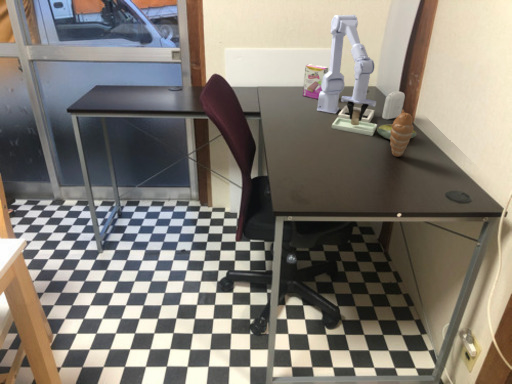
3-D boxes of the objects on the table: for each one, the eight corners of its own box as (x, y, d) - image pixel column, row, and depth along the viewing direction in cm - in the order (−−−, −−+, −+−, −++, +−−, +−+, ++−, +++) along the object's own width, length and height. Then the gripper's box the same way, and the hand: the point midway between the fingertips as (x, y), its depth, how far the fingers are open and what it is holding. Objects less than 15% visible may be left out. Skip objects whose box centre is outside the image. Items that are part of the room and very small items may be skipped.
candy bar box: (302, 96, 219) (305, 65, 211) (306, 94, 223) (309, 63, 214) (321, 100, 214) (324, 68, 206) (325, 98, 218) (329, 66, 209)
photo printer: (394, 114, 200) (400, 89, 194) (401, 116, 197) (407, 91, 191) (380, 117, 195) (385, 92, 189) (387, 120, 192) (392, 94, 186)
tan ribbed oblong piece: (382, 151, 162) (391, 107, 153) (401, 151, 162) (412, 107, 153) (390, 161, 154) (400, 115, 145) (410, 161, 155) (421, 116, 146)
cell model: (376, 125, 180) (412, 117, 174) (380, 142, 181) (416, 134, 176) (376, 129, 170) (414, 120, 164) (380, 147, 171) (417, 139, 166)
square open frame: (337, 120, 190) (338, 114, 188) (344, 111, 201) (345, 105, 199) (367, 125, 185) (368, 119, 183) (373, 116, 196) (374, 110, 195)
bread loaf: (349, 124, 180) (351, 111, 177) (351, 121, 183) (353, 108, 180) (357, 125, 179) (360, 112, 176) (359, 123, 182) (361, 110, 179)
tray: (331, 128, 181) (331, 124, 180) (336, 121, 189) (337, 117, 188) (372, 135, 175) (373, 132, 174) (376, 128, 183) (377, 124, 182)
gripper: (341, 88, 172) (337, 119, 179) (376, 94, 167) (370, 125, 174) (345, 84, 178) (340, 114, 185) (379, 89, 173) (373, 120, 180)
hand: (355, 119), depth 180 cm, fingers closed on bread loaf, 3 cm apart
